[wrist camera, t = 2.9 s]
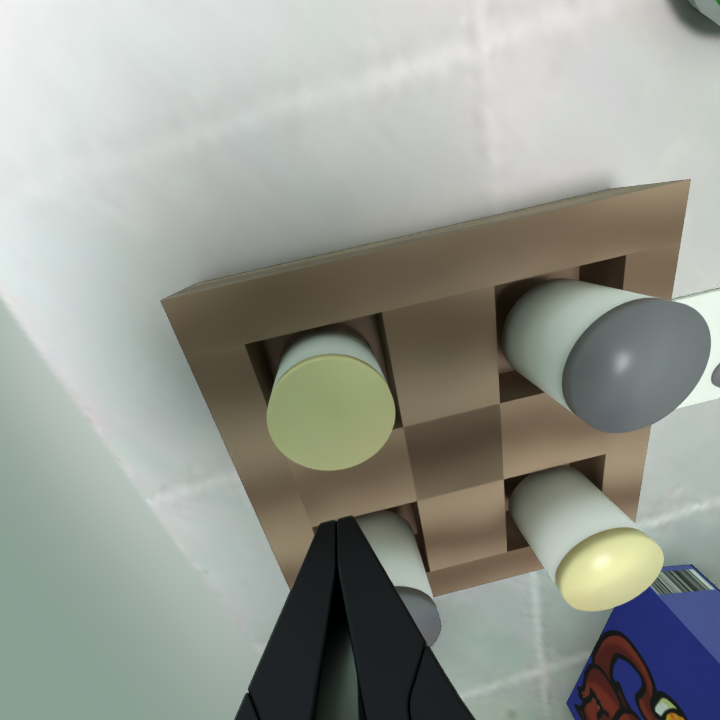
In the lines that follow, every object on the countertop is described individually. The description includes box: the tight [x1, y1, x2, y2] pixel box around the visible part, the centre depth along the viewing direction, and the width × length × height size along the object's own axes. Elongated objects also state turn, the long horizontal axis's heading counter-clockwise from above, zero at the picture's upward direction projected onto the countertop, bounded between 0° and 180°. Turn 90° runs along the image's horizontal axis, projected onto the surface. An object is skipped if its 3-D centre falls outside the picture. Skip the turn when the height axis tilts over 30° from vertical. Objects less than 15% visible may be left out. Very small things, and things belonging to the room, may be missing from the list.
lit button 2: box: [267, 323, 395, 471], centre depth 15 cm, size 5×5×5 cm
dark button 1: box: [501, 278, 711, 433], centre depth 14 cm, size 5×5×5 cm
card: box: [671, 288, 720, 409], centre depth 22 cm, size 8×8×1 cm
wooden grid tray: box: [161, 179, 691, 597], centre depth 20 cm, size 22×22×4 cm
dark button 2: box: [354, 511, 441, 647], centre depth 18 cm, size 5×5×5 cm
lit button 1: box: [508, 465, 664, 611], centre depth 18 cm, size 5×5×5 cm
